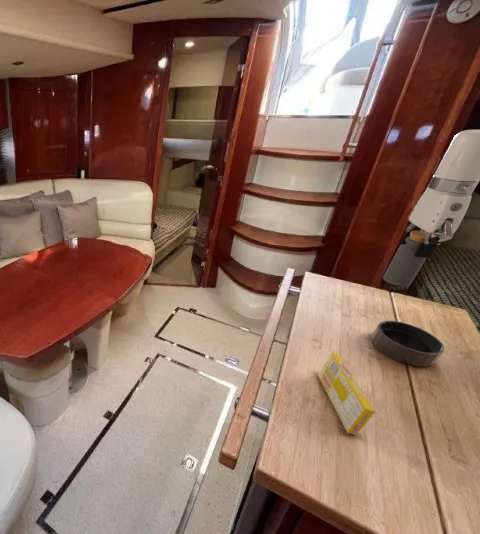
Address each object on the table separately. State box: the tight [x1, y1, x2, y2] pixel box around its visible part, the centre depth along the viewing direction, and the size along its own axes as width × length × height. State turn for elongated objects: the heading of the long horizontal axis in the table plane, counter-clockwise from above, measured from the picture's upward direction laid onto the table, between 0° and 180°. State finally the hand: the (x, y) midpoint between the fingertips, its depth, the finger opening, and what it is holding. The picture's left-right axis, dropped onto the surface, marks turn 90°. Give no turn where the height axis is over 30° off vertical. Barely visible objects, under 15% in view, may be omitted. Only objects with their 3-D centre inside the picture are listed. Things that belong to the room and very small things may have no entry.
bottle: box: [382, 230, 436, 288], centre depth 84 cm, size 6×6×15 cm
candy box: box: [317, 352, 376, 436], centre depth 69 cm, size 16×2×8 cm, turn 165°
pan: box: [370, 320, 445, 367], centre depth 84 cm, size 13×13×5 cm
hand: (413, 250), depth 83 cm, fingers closed on bottle, 5 cm apart
